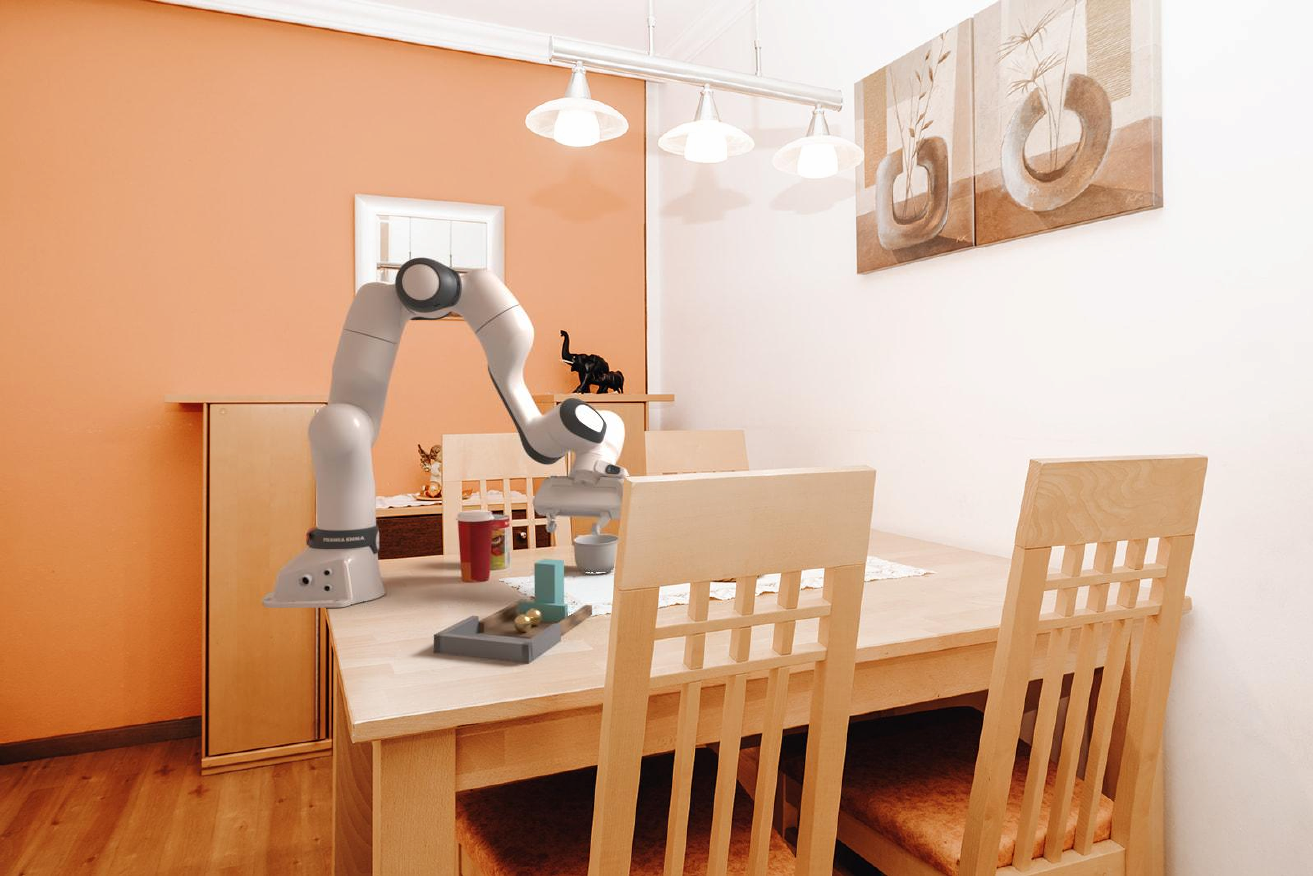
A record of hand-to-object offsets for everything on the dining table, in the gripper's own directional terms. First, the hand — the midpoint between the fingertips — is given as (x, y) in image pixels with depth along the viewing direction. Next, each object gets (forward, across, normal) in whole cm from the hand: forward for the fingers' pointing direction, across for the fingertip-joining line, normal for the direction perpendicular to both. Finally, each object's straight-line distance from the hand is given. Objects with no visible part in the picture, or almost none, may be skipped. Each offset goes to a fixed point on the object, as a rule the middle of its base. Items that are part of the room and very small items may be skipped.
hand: (572, 531), depth 151 cm
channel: (+21, 0, -1) cm, 21 cm away
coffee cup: (+2, -28, +19) cm, 34 cm away
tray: (+31, 0, -11) cm, 32 cm away
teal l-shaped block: (+17, 0, +2) cm, 17 cm away
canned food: (-8, -32, +28) cm, 43 cm away
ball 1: (+25, 0, -5) cm, 25 cm away
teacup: (-10, -7, +31) cm, 33 cm away
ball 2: (+22, 0, -2) cm, 22 cm away
